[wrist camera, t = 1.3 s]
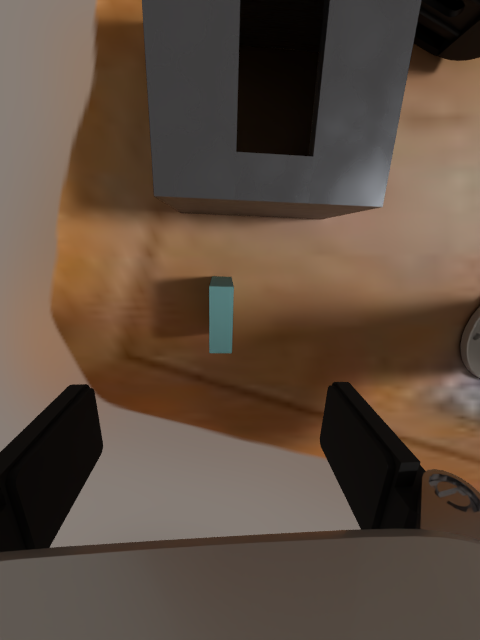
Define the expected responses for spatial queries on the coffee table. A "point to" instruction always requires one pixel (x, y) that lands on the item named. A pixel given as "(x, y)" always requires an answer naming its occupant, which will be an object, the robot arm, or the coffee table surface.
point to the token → (220, 314)
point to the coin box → (328, 111)
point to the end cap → (449, 28)
